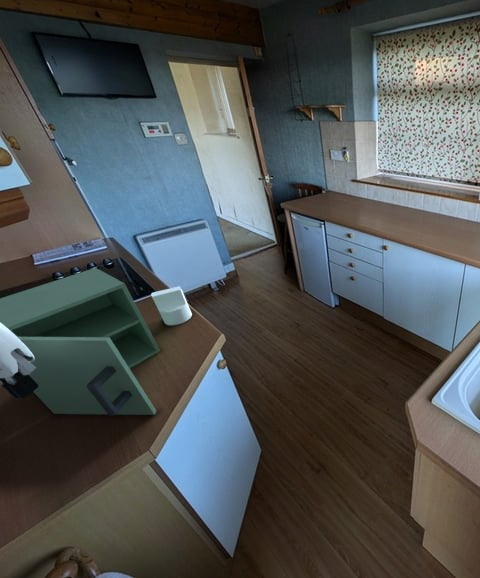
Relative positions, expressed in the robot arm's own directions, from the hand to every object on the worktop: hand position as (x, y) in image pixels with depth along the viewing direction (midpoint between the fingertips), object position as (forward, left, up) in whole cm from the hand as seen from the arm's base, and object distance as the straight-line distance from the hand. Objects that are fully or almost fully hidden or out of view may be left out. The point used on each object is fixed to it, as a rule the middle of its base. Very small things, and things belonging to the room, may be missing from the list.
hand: (27, 392), depth 59 cm
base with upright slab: (+40, +29, -19) cm, 53 cm away
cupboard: (+14, +25, -19) cm, 34 cm away
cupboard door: (+5, +3, -19) cm, 19 cm away
